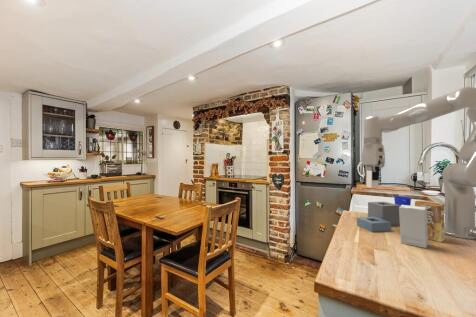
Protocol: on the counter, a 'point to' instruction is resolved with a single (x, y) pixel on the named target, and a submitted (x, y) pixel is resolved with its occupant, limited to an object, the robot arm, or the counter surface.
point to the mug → (402, 200)
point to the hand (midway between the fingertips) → (372, 179)
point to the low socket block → (373, 224)
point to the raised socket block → (384, 211)
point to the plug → (370, 178)
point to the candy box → (434, 219)
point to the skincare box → (413, 225)
